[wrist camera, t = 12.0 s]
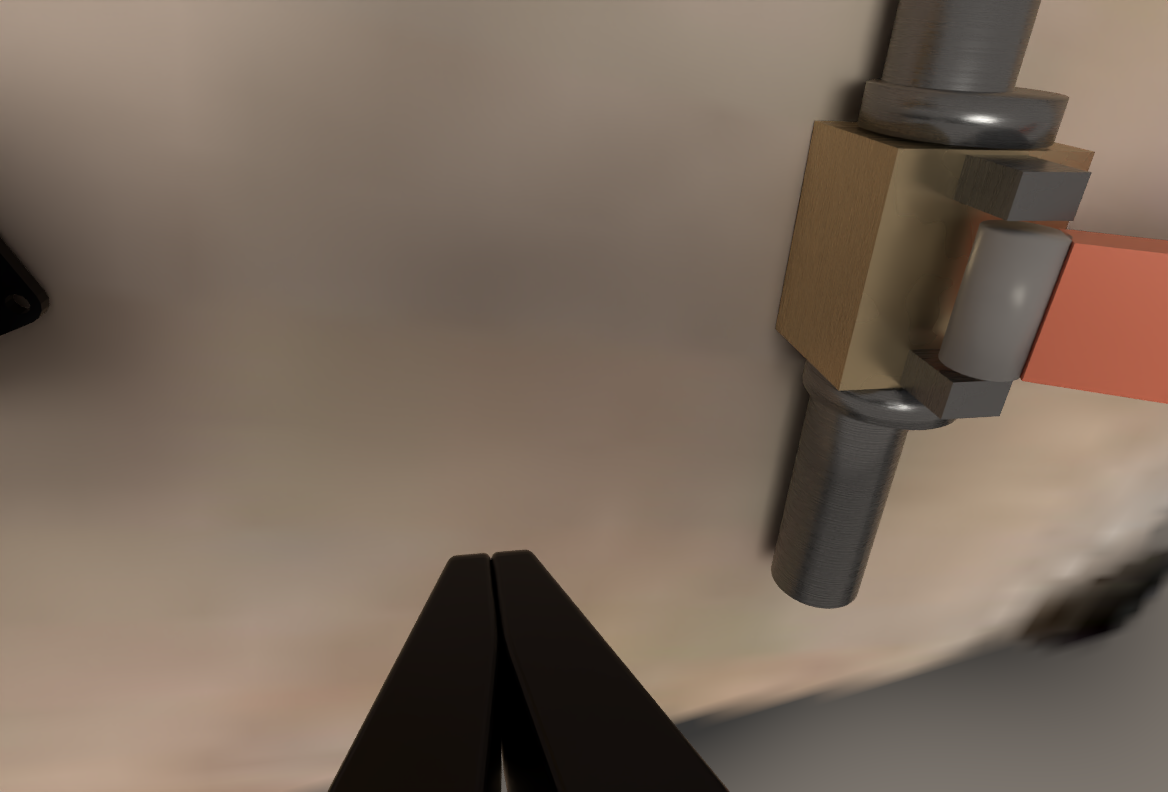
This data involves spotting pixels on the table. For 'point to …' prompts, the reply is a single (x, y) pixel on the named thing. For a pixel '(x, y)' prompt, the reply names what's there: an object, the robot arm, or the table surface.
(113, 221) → the table surface
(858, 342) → the pipe valve
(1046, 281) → the lever
